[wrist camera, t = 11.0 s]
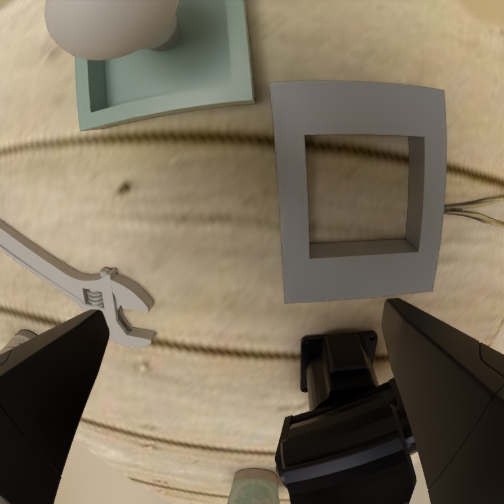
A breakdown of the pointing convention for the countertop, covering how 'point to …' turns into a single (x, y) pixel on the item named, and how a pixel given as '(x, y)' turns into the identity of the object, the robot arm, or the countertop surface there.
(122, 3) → the lightbulb
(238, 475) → the coffee cup
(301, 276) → the socket board
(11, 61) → the countertop surface
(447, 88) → the countertop surface
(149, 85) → the parts tray
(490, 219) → the tongs
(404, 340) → the robot arm
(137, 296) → the adjustable wrench
